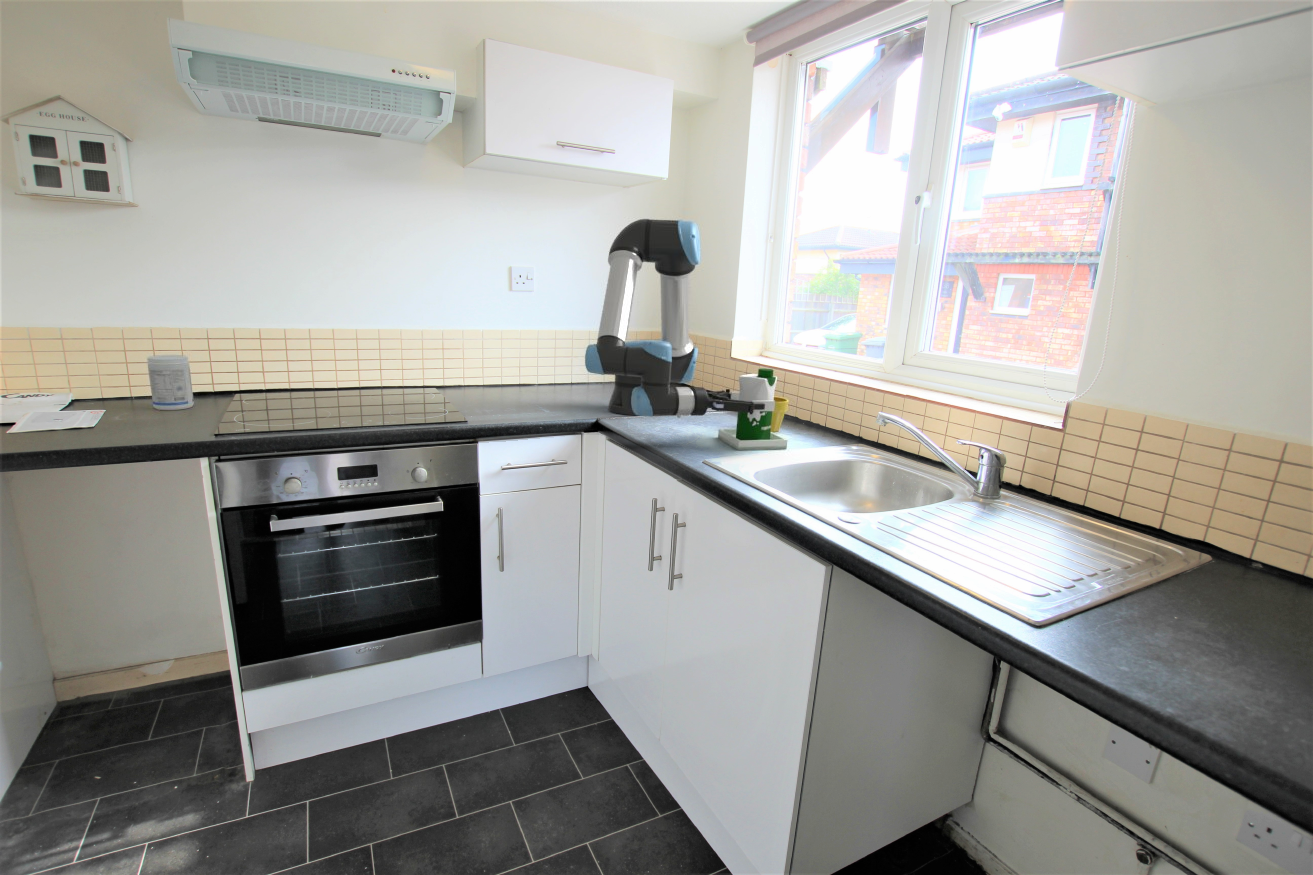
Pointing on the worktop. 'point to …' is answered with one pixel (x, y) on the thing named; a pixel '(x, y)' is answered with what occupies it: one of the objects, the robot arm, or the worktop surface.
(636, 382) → the robot arm
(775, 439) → the sage tray
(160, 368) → the supplement tub
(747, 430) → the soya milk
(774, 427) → the plant pot
